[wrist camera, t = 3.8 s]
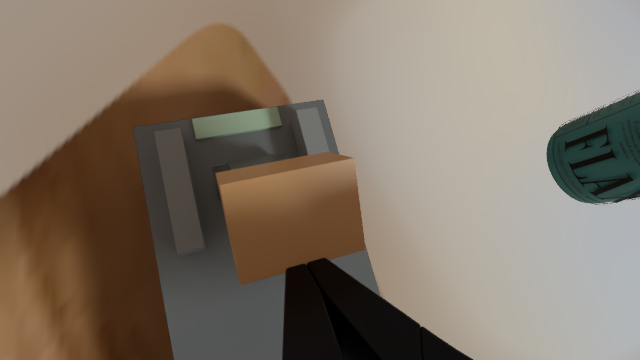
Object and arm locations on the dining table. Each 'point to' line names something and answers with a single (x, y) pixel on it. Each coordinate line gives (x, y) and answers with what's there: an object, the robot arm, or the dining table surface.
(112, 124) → the dining table surface
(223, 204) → the lever
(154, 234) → the base
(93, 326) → the dining table surface
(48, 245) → the dining table surface
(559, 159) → the beverage bottle
